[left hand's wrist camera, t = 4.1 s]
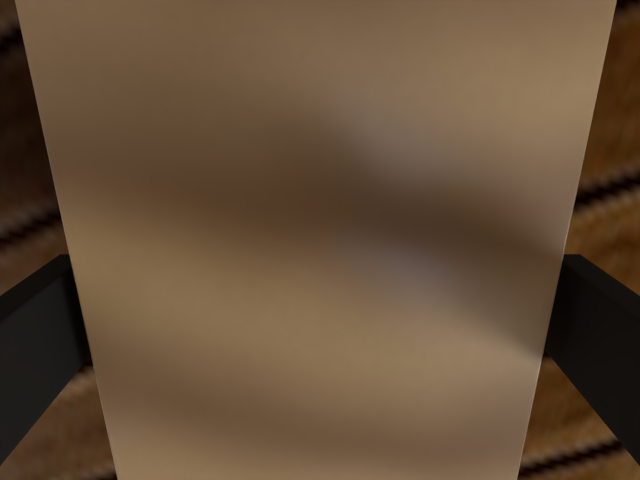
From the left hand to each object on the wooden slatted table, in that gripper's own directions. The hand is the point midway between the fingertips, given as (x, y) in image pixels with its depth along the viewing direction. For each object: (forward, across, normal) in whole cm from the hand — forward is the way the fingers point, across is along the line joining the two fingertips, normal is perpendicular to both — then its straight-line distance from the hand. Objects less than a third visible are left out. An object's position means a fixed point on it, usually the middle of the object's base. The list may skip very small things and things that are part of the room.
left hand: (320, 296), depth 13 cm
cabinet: (+10, 0, -3) cm, 11 cm away
